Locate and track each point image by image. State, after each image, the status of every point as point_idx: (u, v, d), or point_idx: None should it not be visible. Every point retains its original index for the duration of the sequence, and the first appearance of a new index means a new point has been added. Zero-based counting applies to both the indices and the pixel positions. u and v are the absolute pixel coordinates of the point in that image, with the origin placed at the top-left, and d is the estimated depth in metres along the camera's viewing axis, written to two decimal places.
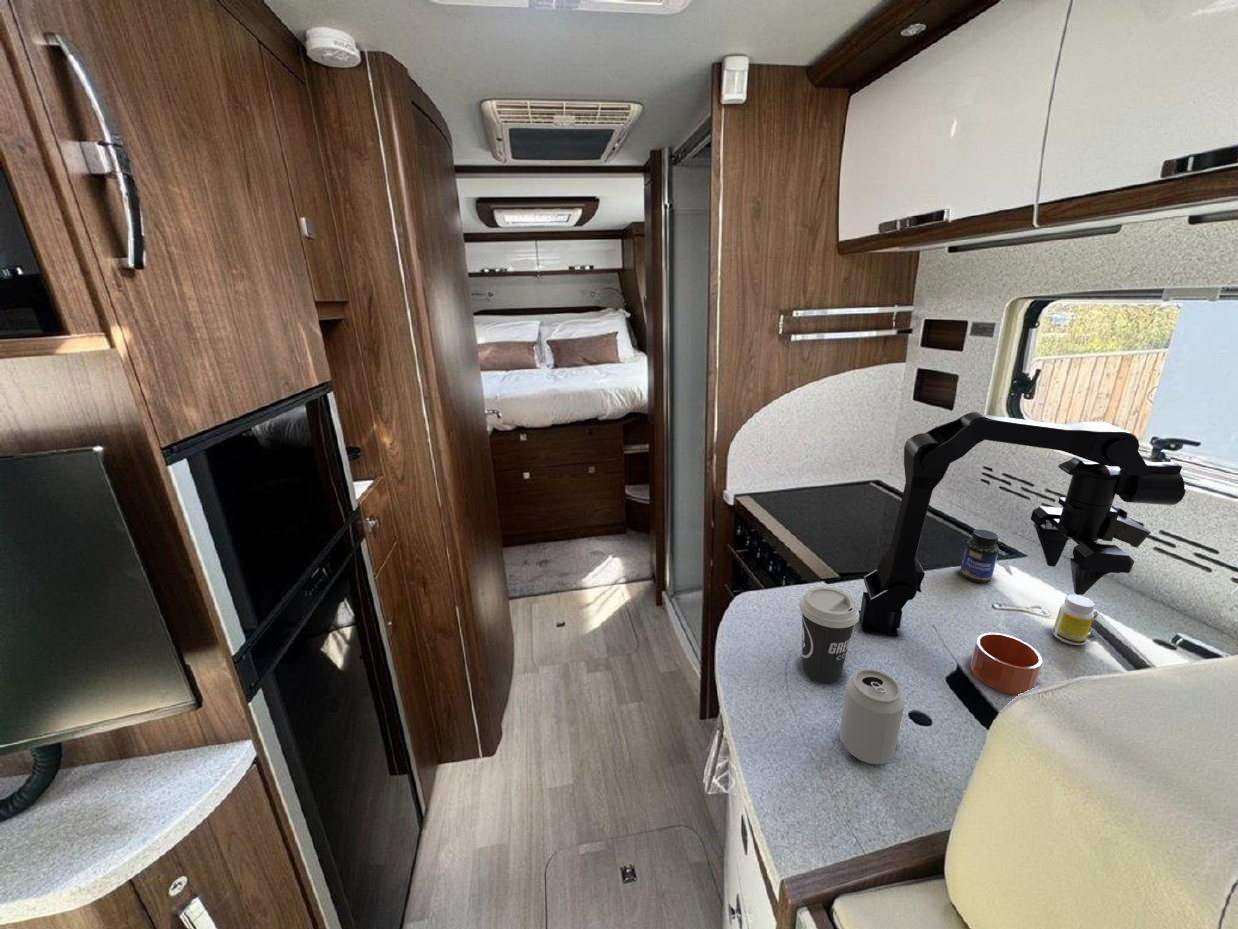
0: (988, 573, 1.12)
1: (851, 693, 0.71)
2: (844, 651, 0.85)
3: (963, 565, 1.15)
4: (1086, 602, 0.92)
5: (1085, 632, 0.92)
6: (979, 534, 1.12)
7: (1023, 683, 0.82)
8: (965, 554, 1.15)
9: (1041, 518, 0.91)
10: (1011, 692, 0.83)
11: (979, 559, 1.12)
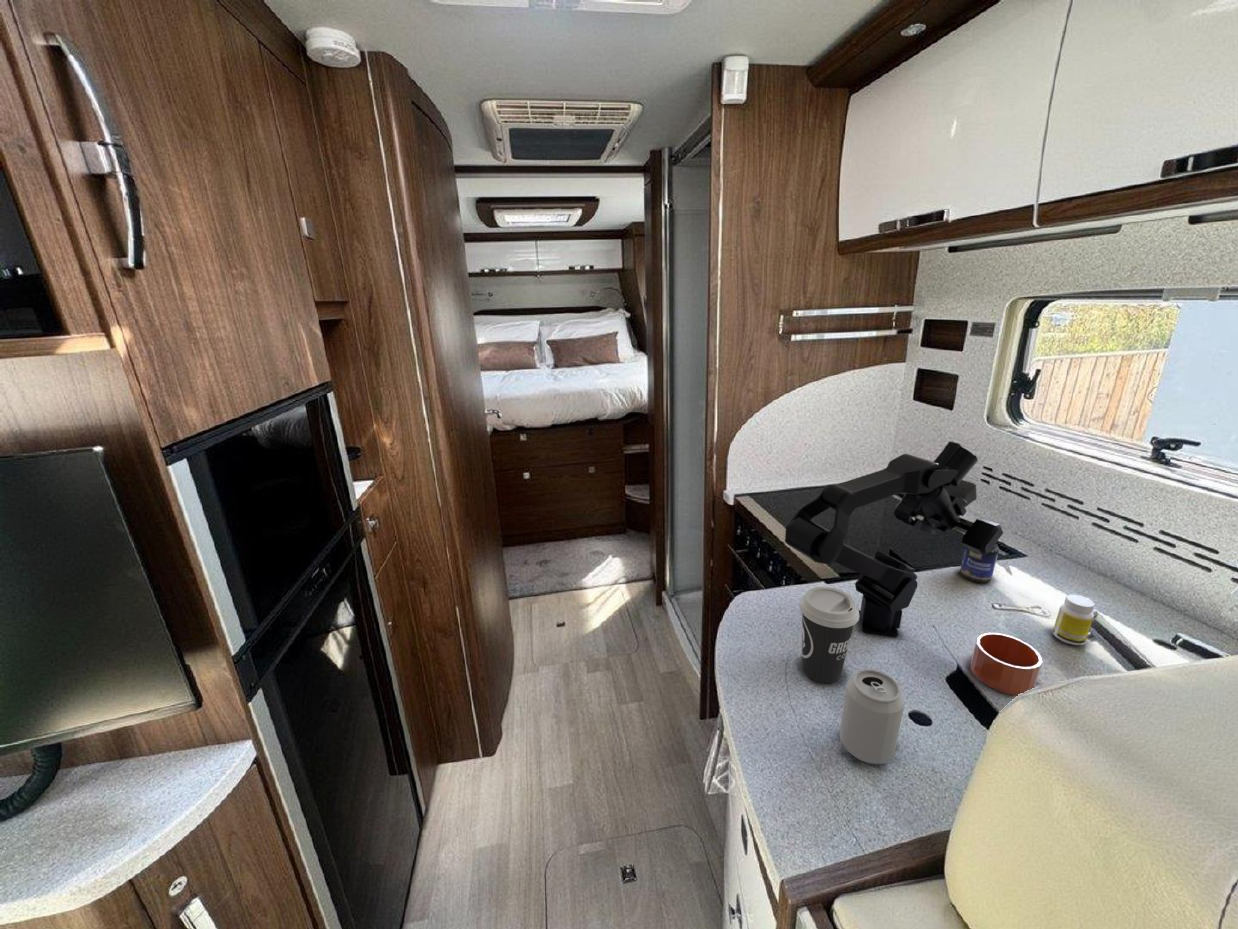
0: (988, 573, 1.12)
1: (851, 693, 0.71)
2: (844, 651, 0.85)
3: (963, 565, 1.15)
4: (1085, 602, 0.92)
5: (1085, 632, 0.92)
6: None
7: (1023, 683, 0.82)
8: (965, 554, 1.15)
9: (908, 520, 1.04)
10: (1011, 692, 0.83)
11: (979, 559, 1.12)
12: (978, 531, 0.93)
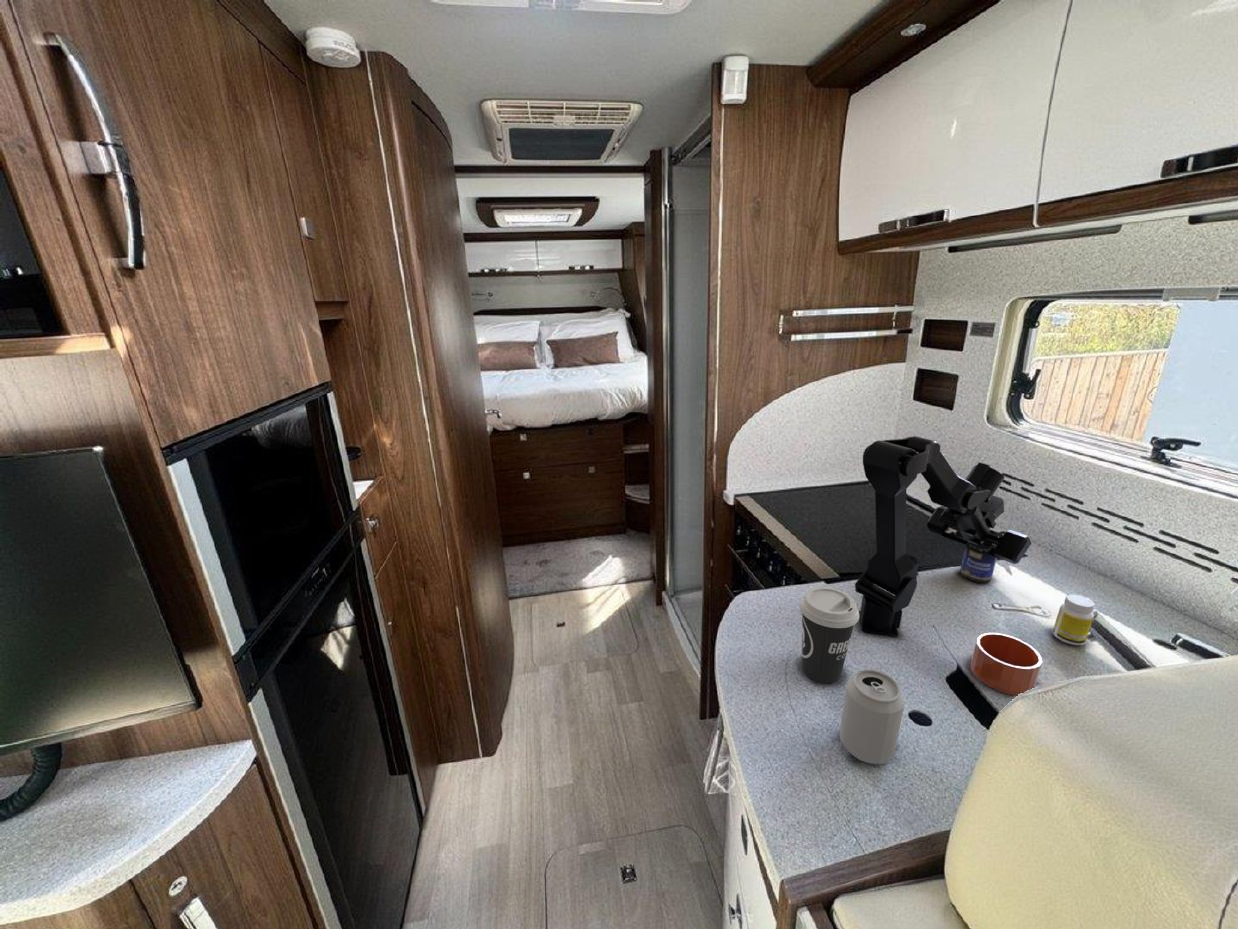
0: (988, 573, 1.12)
1: (851, 693, 0.71)
2: (844, 651, 0.85)
3: (963, 565, 1.15)
4: (1085, 602, 0.92)
5: (1085, 632, 0.92)
6: None
7: (1023, 683, 0.82)
8: (965, 554, 1.15)
9: (941, 532, 1.14)
10: (1011, 692, 0.83)
11: (979, 559, 1.12)
12: (1009, 543, 1.03)
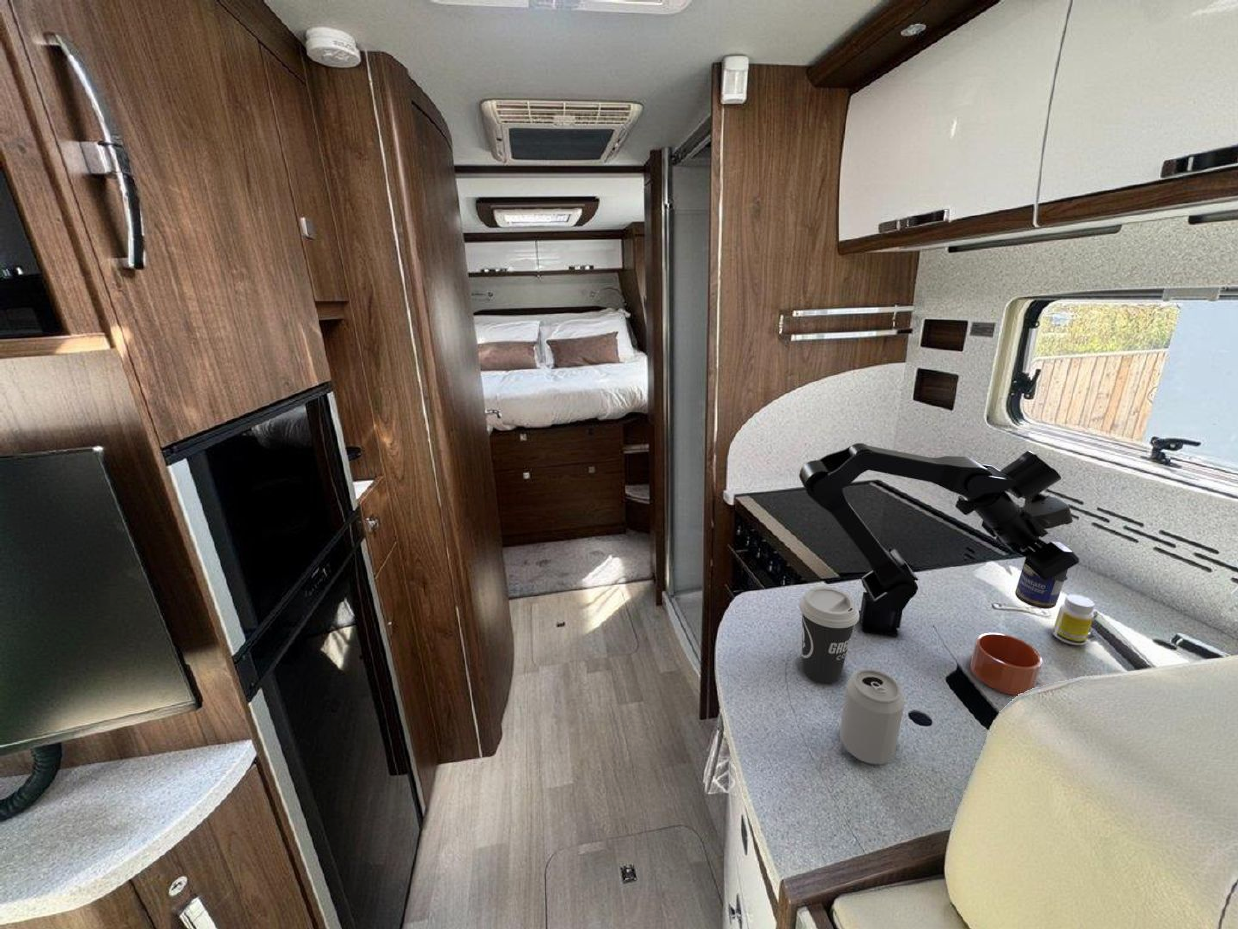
0: (1041, 596, 0.91)
1: (851, 693, 0.71)
2: (844, 651, 0.85)
3: (1018, 581, 0.95)
4: (1085, 602, 0.92)
5: (1085, 632, 0.92)
6: None
7: (1023, 683, 0.82)
8: None
9: (990, 533, 0.97)
10: (1011, 692, 0.83)
11: (1030, 575, 0.92)
12: (1043, 554, 0.84)
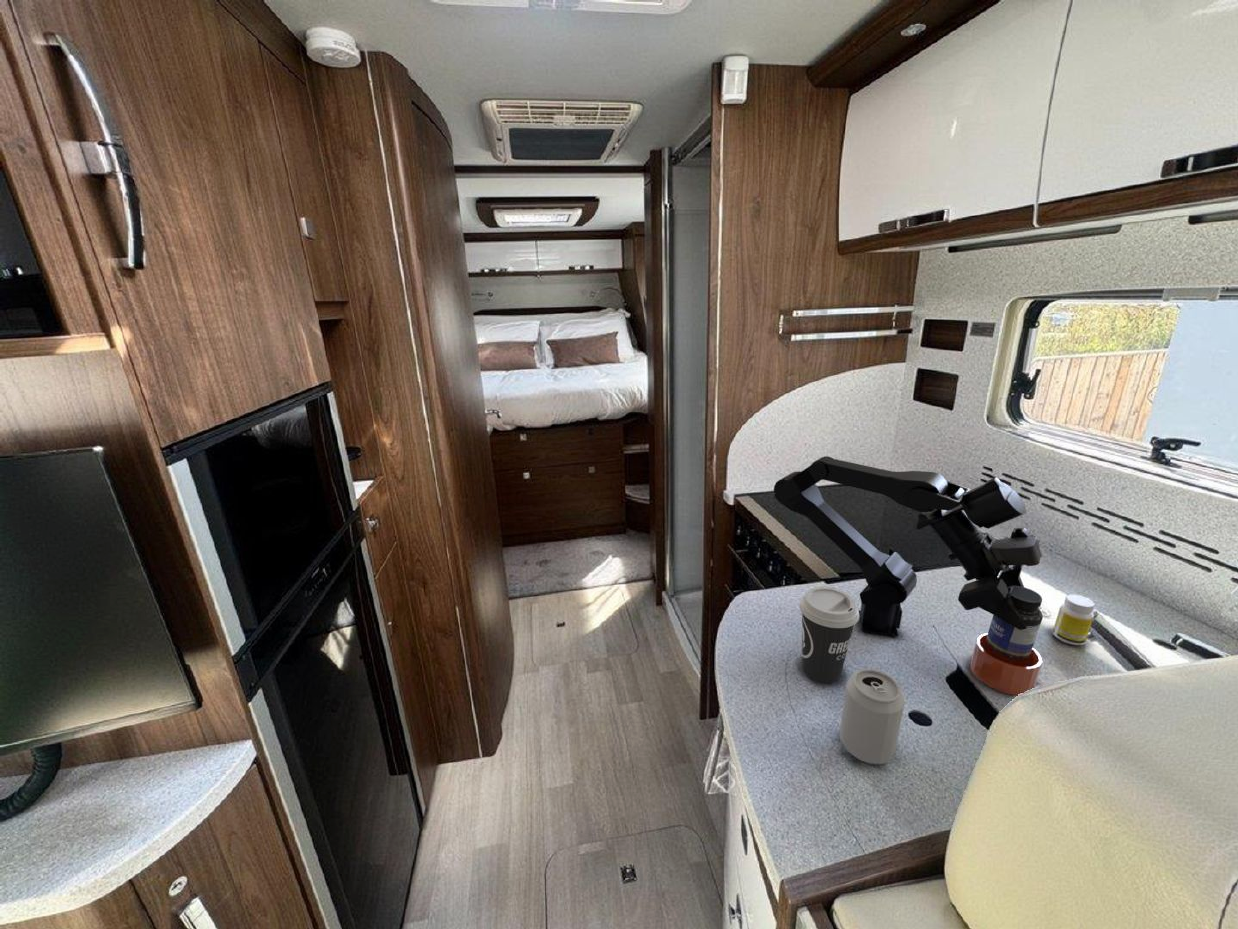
0: (999, 640, 0.83)
1: (851, 693, 0.71)
2: (844, 651, 0.85)
3: None
4: (1085, 602, 0.92)
5: (1085, 632, 0.92)
6: (1014, 589, 0.83)
7: (1023, 683, 0.82)
8: None
9: None
10: (1011, 692, 0.83)
11: (994, 615, 0.84)
12: (974, 584, 0.80)
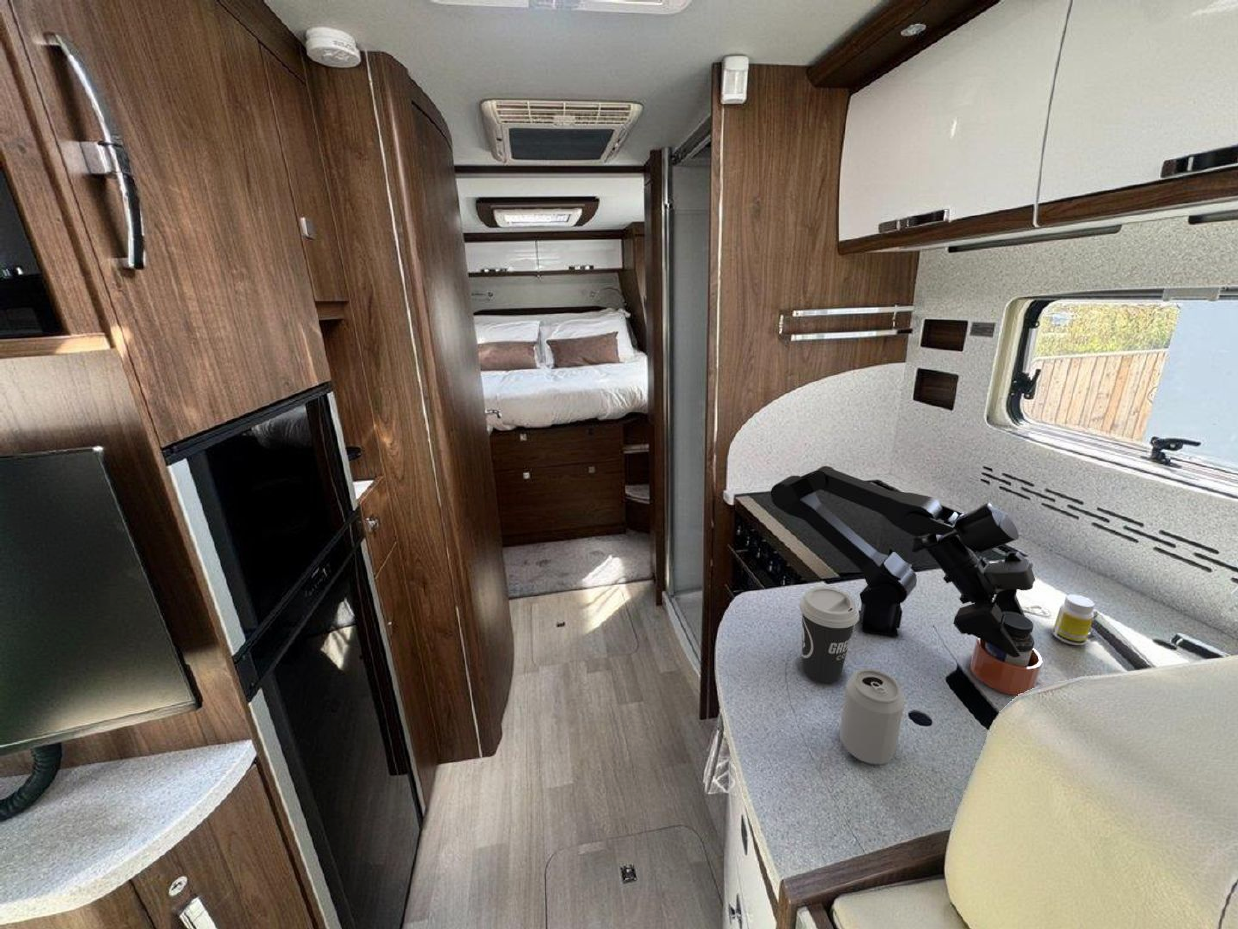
0: None
1: (851, 693, 0.71)
2: (844, 651, 0.85)
3: None
4: (1085, 602, 0.92)
5: (1085, 632, 0.92)
6: (1006, 615, 0.85)
7: (1023, 683, 0.82)
8: None
9: None
10: (1011, 692, 0.83)
11: None
12: (969, 608, 0.81)
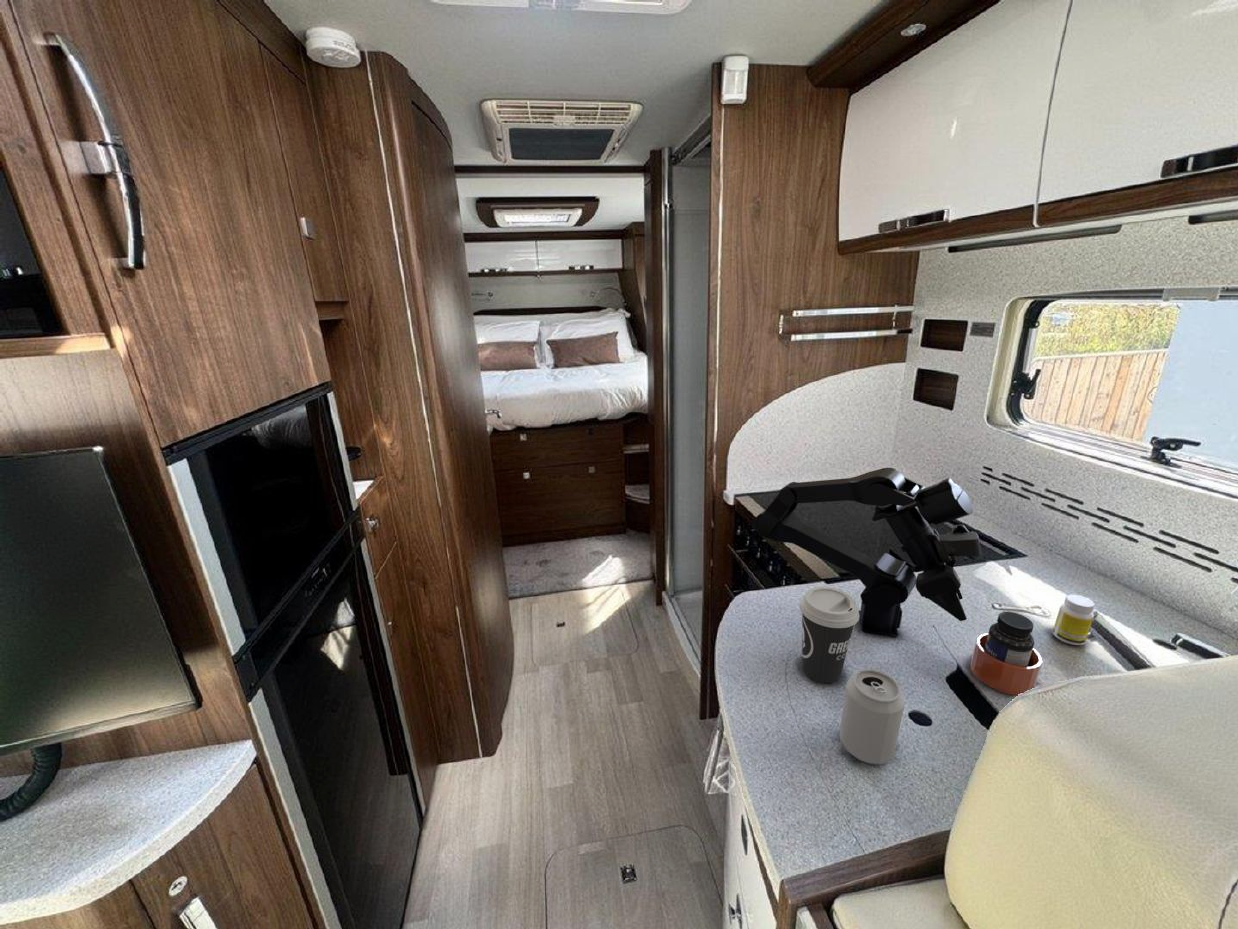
0: None
1: (851, 693, 0.71)
2: (844, 651, 0.85)
3: None
4: (1085, 602, 0.92)
5: (1085, 632, 0.92)
6: (1006, 615, 0.85)
7: (1023, 683, 0.82)
8: None
9: None
10: (1011, 692, 0.83)
11: (987, 640, 0.86)
12: (930, 572, 0.85)
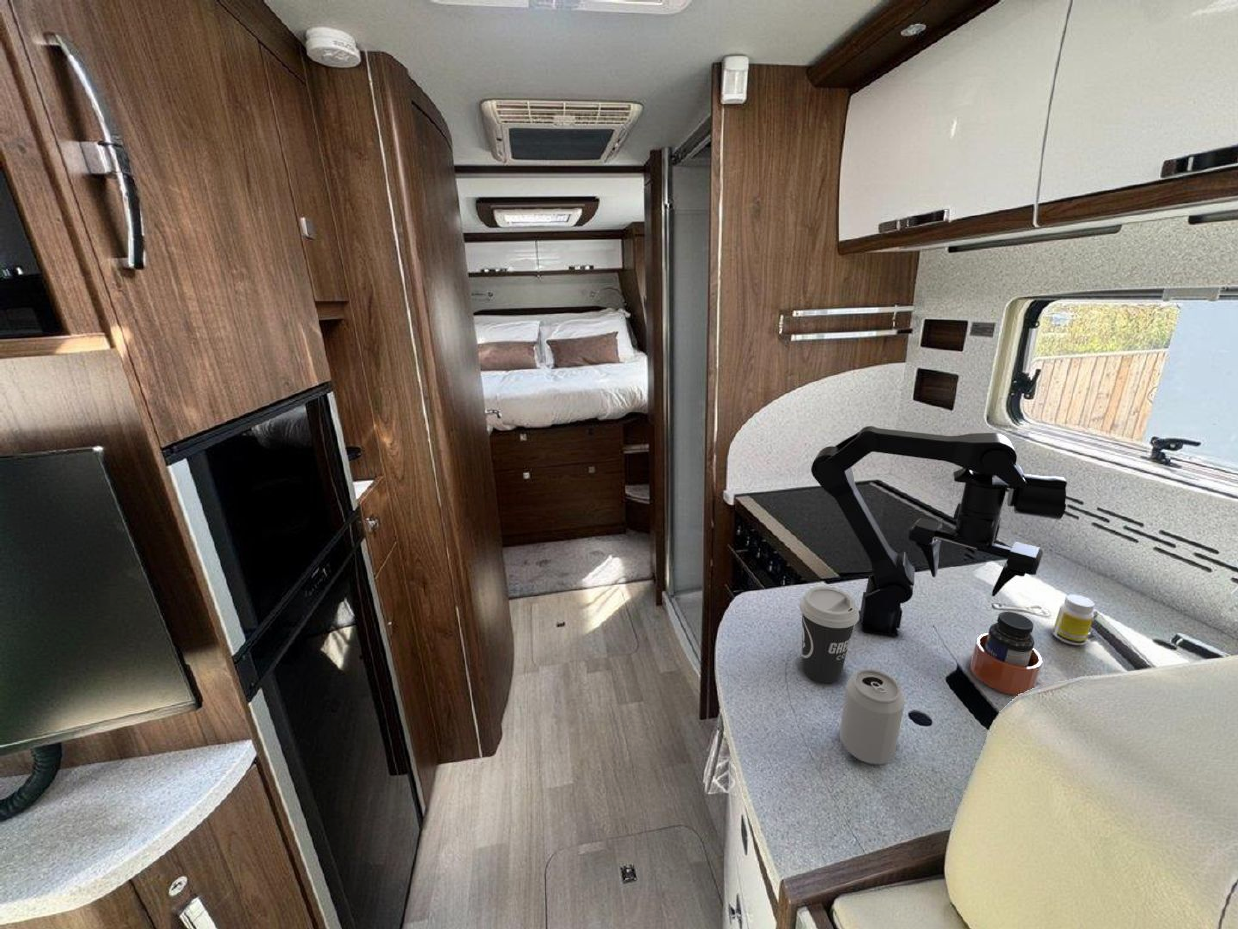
0: None
1: (851, 693, 0.71)
2: (844, 651, 0.85)
3: None
4: (1086, 602, 0.92)
5: (1085, 632, 0.92)
6: (1006, 615, 0.85)
7: (1023, 683, 0.82)
8: None
9: (932, 537, 0.89)
10: (1011, 692, 0.83)
11: (987, 640, 0.86)
12: (1024, 549, 0.82)
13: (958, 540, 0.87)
